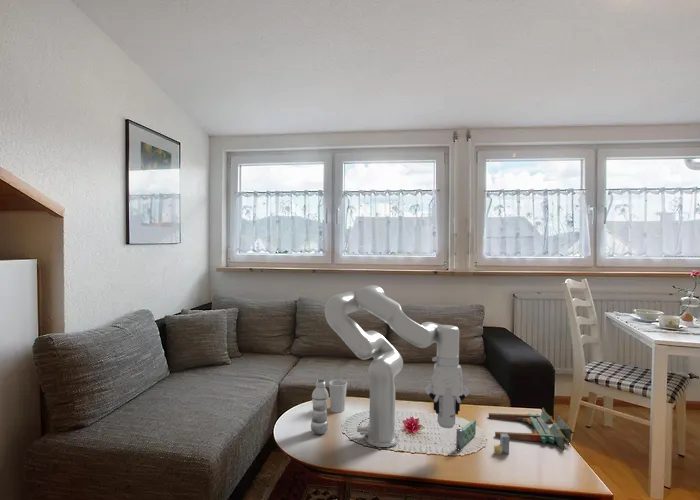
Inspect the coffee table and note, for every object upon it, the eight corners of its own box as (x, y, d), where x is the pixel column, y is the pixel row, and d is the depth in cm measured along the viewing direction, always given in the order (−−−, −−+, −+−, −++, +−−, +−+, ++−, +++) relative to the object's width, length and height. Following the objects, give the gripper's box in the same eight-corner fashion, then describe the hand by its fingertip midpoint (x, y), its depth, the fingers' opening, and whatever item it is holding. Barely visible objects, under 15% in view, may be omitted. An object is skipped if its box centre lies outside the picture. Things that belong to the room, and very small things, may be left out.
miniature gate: (487, 405, 176) (560, 407, 170) (487, 418, 176) (561, 420, 170) (497, 433, 150) (584, 437, 144) (497, 448, 150) (585, 452, 144)
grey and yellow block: (494, 454, 141) (495, 437, 141) (492, 449, 144) (492, 433, 144) (509, 455, 141) (510, 438, 141) (506, 450, 144) (507, 433, 144)
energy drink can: (454, 430, 135) (455, 386, 135) (436, 427, 137) (437, 384, 137) (455, 422, 141) (456, 380, 141) (438, 420, 143) (439, 378, 142)
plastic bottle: (307, 432, 154) (308, 380, 154) (321, 427, 159) (322, 377, 158) (317, 438, 149) (318, 385, 149) (331, 433, 154) (332, 381, 154)
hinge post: (456, 450, 143) (457, 431, 143) (455, 447, 145) (456, 428, 145) (462, 451, 143) (463, 431, 143) (461, 448, 145) (462, 428, 145)
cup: (338, 404, 181) (339, 378, 181) (350, 410, 175) (350, 383, 175) (324, 408, 176) (325, 381, 176) (335, 415, 170) (336, 387, 170)
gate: (462, 446, 145) (463, 431, 145) (459, 445, 146) (460, 430, 146) (475, 434, 154) (475, 420, 154) (472, 433, 155) (472, 419, 155)
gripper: (423, 363, 135) (422, 416, 136) (475, 365, 134) (474, 418, 135) (421, 357, 143) (420, 407, 143) (470, 359, 142) (469, 409, 142)
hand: (446, 412), depth 139 cm, fingers closed on energy drink can, 6 cm apart
